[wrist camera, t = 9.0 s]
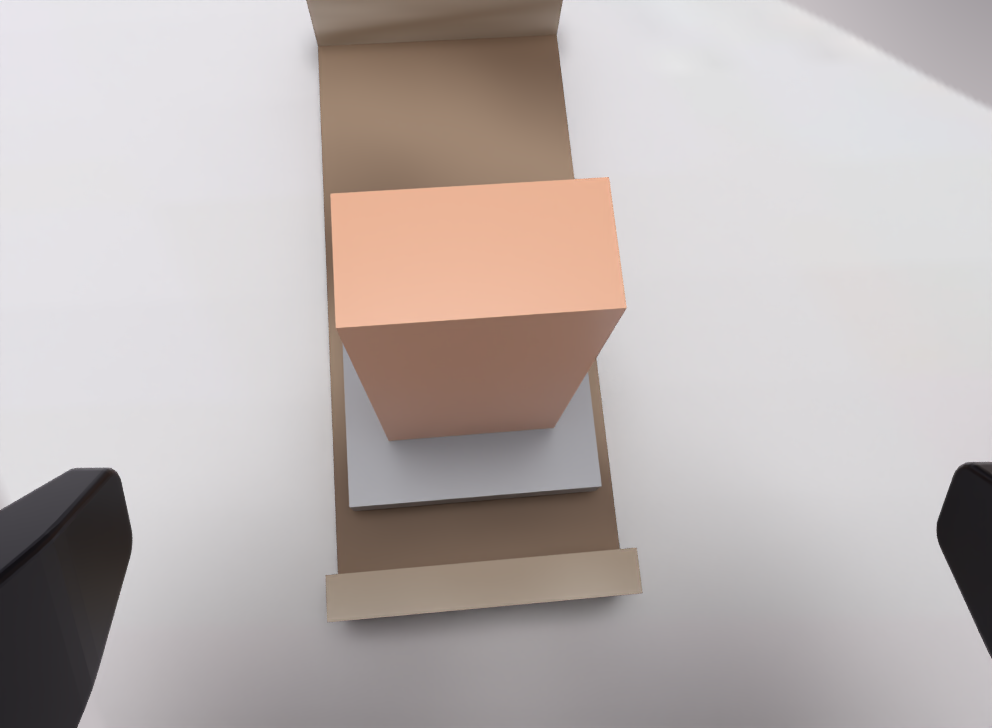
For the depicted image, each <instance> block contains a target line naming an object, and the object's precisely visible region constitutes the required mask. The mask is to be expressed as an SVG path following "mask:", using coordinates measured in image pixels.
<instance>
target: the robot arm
mask: <svg viewBox="0 0 992 728" xmlns="http://www.w3.org/2000/svg"><path fill="white" fill-rule="evenodd" d="M937 538H938V542H939V545H940V548H941V550H942V552H943V554H944V556H945V559H946V561H947V563H948V565H949V567H950V569H951V572H952V574H953V576H954V578H955V580H956V583H957V585H958V587H959V589H960V591H961V594H962V596H963V598H964V600H965V602H966V604H967V607H968V609H969V611H970V613H971V615H972V618H973V620H974V622H975V624H976V626H977V628H978V631H979V633H980V635H981V637H982V639H983V642H984V644H985V646H986V648H987V650H988V652H989V654H990V656H991V658H992V462H967V463H964V464H962V465H961V466H959V467H958V469H957V470H956V471H955V473H954V475H953V478H952V481H951V484H950V487H949V489H948V492H947V495H946V498H945V501H944V504H943V506H942V509H941V512H940V515H939V518H938V521H937ZM131 550H132V530H131V525H130V520H129V515H128V511H127V506H126V501H125V496H124V492H123V487H122V482H121V479H120V477H119V475H118V473H117V472H116V471H115V470H113V469H112V468H74V469H71V470H69V471H67V472H65V473H64V474H62V475H60V476H58V477H57V478H55V479H53V480H51V481H50V482H48V483H46V484H45V485H43V486H41V487H39V488H38V489H36V490H34V491H32V492H31V493H29V494H27V495H26V496H24V497H22V498H20V499H19V500H17V501H15V502H13V503H12V504H10V505H8V506H7V507H5V508H3V509H1V510H0V728H77V727H78V724H79V722H80V719H81V717H82V714H83V712H84V710H85V707H86V704H87V702H88V699H89V697H90V694H91V691H92V689H93V686H94V683H95V679H96V676H97V673H98V670H99V666H100V663H101V659H102V656H103V652H104V649H105V645H106V641H107V638H108V634H109V631H110V627H111V624H112V620H113V616H114V613H115V609H116V606H117V602H118V599H119V595H120V591H121V588H122V584H123V581H124V577H125V574H126V570H127V566H128V563H129V559H130V555H131Z"/></svg>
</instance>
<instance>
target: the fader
mask: <svg viewBox="0 0 992 728" xmlns="http://www.w3.org/2000/svg"><path fill="white" fill-rule="evenodd" d="M330 197H331V222H332V247H333V272H334V297H335V322H336V330H337V332H338V334H339V336H340V338H341V340H342V343H343V367H344V391H345V415H346V438H347V462H348V486H349V507H350V508H351V509H352V510H354V511H362V510H374V509H386V508H398V507H410V506H422V505H434V504H446V503H458V502H470V501H482V500H493V499H505V498H517V497H529V496H541V495H553V494H565V493H577V492H589V491H596V490H597V489H599V488H600V487H601V486H602V485H601V476H600V468H599V460H598V451H597V443H596V435H595V426H594V418H593V410H592V401H591V393H590V384H589V376H588V371H589V369H590V367H591V366H592V364H593V362H594V361H595V359H596V357H597V356H598V354H599V352H600V351H601V349H602V348H603V346H604V344H605V343H606V341H607V339H608V338H609V336H610V334H611V333H612V331H613V329H614V328H615V326H616V324H617V323H618V321H619V319H620V318H621V316H622V315H623V313H624V311H625V310H626V300H625V293H624V285H623V278H622V271H621V263H620V256H619V248H618V241H617V233H616V226H615V219H614V211H613V204H612V196H611V189H610V181H609V177H605V178H588V179H571V180H553V181H536V182H519V183H502V184H485V185H468V186H451V187H434V188H417V189H400V190H383V191H366V192H349V193H332V194H330Z"/></svg>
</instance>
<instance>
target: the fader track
mask: <svg viewBox="0 0 992 728" xmlns="http://www.w3.org/2000/svg"><path fill="white" fill-rule="evenodd" d="M306 1H307V5H308V9H309V13H310V16H311V20H312V24H313V28H314V32H315V36H316V40H317V44H318V57H319V83H320V110H321V136H322V163H323V189H324V216H325V242H326V269H327V295H328V322H329V348H330V375H331V401H332V428H333V454H334V481H335V507H336V534H337V560H338V574H335V575H326V602H327V622H337V621H347V620H358V619H369V618H380V617H391V616H401V615H412V614H423V613H434V612H445V611H456V610H466V609H477V608H488V607H499V606H510V605H520V604H531V603H542V602H553V601H564V600H575V599H585V598H596V597H607V596H618V595H629V594H639V593H642V586H641V578H640V570H639V563H638V555H637V548H628V549H620V548H619V540H618V532H617V523H616V515H615V507H614V499H613V491H612V483H611V475H610V466H609V458H608V450H607V442H606V434H605V426H604V418H603V409H602V401H601V393H600V385H599V377H598V369H597V361H596V359H595V361H594V362H593V364H592V366H591V367H590V369H589V371H588V376H589V384H590V393H591V401H592V410H593V418H594V426H595V435H596V443H597V451H598V460H599V468H600V476H601V485H602V486H601V487H600V488H599V489H597V490H596V491H589V492H577V493H565V494H553V495H541V496H529V497H517V498H505V499H493V500H482V501H470V502H458V503H446V504H434V505H422V506H410V507H398V508H386V509H374V510H362V511H354V510H352V509H351V508H350V507H349V486H348V462H347V438H346V415H345V391H344V367H343V343H342V340H341V338H340V336H339V334H338V332H337V330H336V322H335V297H334V272H333V247H332V222H331V197H330V194H332V193H349V192H366V191H383V190H400V189H417V188H434V187H451V186H468V185H485V184H502V183H519V182H536V181H553V180H571V179H574V173H573V165H572V157H571V149H570V141H569V133H568V124H567V116H566V108H565V100H564V92H563V84H562V76H561V67H560V59H559V51H558V43H557V29H558V24H559V18H560V13H561V7H562V1H563V0H306Z"/></svg>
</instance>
